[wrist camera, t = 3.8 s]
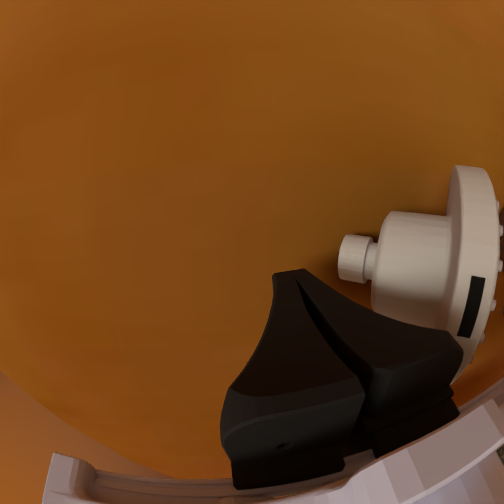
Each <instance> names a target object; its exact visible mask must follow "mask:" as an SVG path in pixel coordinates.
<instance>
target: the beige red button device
mask: <svg viewBox="0 0 504 504" xmlns="http://www.w3.org/2000/svg"><path fill="white" fill-rule="evenodd" d="M499 225H502V226H503V235H502V236H500V258H499V260H501V261H503V266H502V269H503V271H504V210H503V211H502V213H501V215H500V217H499Z"/></svg>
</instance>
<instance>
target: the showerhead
mask: <svg viewBox="0 0 504 504" xmlns="http://www.w3.org/2000/svg"><path fill="white" fill-rule="evenodd" d="M498 211H499V202H498V201H496V197H495V193H494V189H493V186H492V183H491V181H490V178H489V176H488V174H487V172H486V171H485V170H484V169H483V168H479V167H470V166H461V165H455V166H454V167H453V170H452V174H451V178H450V185H449V193H448V201H447V210H446V216H440V215H432V214H422V213H413V212H402V211H391V212H390V213H389V214H388V215H387V217H386V218H385V220H384V222H383V225H382V227H381V231H380V236H379V240H378V243H374V241H373V238H372V237H368V236H360V235H353V234H347V235H346V236H345V237H344V239H343V241H342V244H341V247H340V251H339V258H338V274H339V278H340V279H343V280H348V281H353V282H358V283H363V284H365V283H366V282H367V280H368V279H370V280H372V284H371V306H372V309H373V311H374V312H376V313H379V314H381V315H384V316H387V317H389V318H392V319H395V320H398V321H402V322H405V323H409V324H413V325H417V326H421V327H427V328H433V329H439V330H446V331H448V332H449V333H450V334H451V335H452V336H453V337H454V339H455V340H456V341H457V342H458V343H459V345H460V346H461V347H462V348H463V351H464V355H463V361H462V363H461V366H460V368H459V370H458V371H457V373H456V375H455V377H454V378H453V380H452V382H451V383H450V385H451V384H453V383H454V382H455V381H456V380H457V379H458V378H459V377H460V375H461V374H462V373H463V371H464V370H465V368H466V367H467V365H468V363H471V362H472V360H473V357H474V353H475V351H476V348H477V346H478V344H479V343H483V341H484V338H485V333H483V332H484V329H485V327H486V323H487V320H488V317H489V313H490V311H494V309H495V306H496V300H495V299H493V298H494V293H495V287H496V281H497V274H498V272H501V271H502V266H503V261H501V260H499V258H500V236H502V235H503V226H502V225H499V216H498Z"/></svg>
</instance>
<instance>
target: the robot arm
mask: <svg viewBox="0 0 504 504" xmlns="http://www.w3.org/2000/svg"><path fill="white" fill-rule="evenodd" d="M272 282H273V293H274V294H273V301H272V306H271V310H270V314H269V318H268V321H267V324H266V327H265V330H264V332H263V335H262V337H261V339H260V341H259V343H258V346H257V348H256V349H255V351H254V353H253V355H252V356H251V358H250V360H249V361H248V363H247V364H246V366H245V368H244V369H243V370H242V372H241V373H240V374H239V376H238V377H237V378H236V379H235V381H234V382H233V383H232V384H231V386H230V387H229V388H228V391H227V394H226V398H225V401H224V405H223V409H222V413H221V420H220V436H221V444H222V447H223V448H224V450H225V452H226V454H227V455H228V457H229V459H230V461H231V467H232V478H223V479H166V478H152V477H142V476H133V475H126V474H119V473H113V472H107V471H102V470H97V469H95V468H94V467H93V466H92V465H91V464H89V463H88V462H86V461H84V460H81V459H79V458H76V457H71V456H67V455H64V454H60V453H57V452H55V453H53V456H52V459H51V464H50V467H49V471H48V476H47V481H46V485H45V490H44V494H43V499H42V504H504V465H503V463H502V461H501V459H500V458H499V456H498V454H497V452H496V450H497V449H499V448H500V447H501V446H502V445H503V444H504V377H503V378H501V379H500V380H499V381H497V382H496V383H495V384H493V385H492V386H490V387H489V388H488V389H486V390H485V391H483V392H482V393H480V394H479V395H477V396H476V397H474V398H473V399H471V400H470V401H468V402H467V403H465V404H463V405H462V406H460V407H458V408H457V407H456V405H455V403H454V402H453V400H452V399H451V397H452V396H453V394H454V392H453V390H452V389H451V387H450V386H449V385H450V383H451V382H452V380H453V378H454V377H455V375H456V373H457V371H458V370H459V368H460V366H461V363H462V361H463V355H464V351H463V348H462V347H461V346H460V345H459V343H458V342H457V341H456V340H455V339H454V337H453V336H452V335H451V334H450V333H449V332H448V331H446V330H439V329H433V328H427V327H421V326H417V325H413V324H409V323H405V322H402V321H398V320H395V319H392V318H389V317H387V316H384V315H381V314H379V313H376V312H374V311H372V310H369V309H367V308H365V307H363V306H361V305H359V304H357V303H355V302H353V301H352V300H350V299H348V298H346V297H345V296H343V295H341V294H340V293H338V292H337V291H335V290H334V289H332V288H331V287H329V286H328V285H326V284H325V283H323V282H322V281H321V280H319V279H318V278H317V277H315V276H314V275H313V274H311V273H310V272H308V271H307V270H306V269H298V270H292V271H285V272H279V273H274V274H273V276H272ZM295 493H296V494H295ZM290 494H292V495H290ZM284 495H288V496H284ZM278 496H284V497H279V498H273V497H278Z"/></svg>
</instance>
